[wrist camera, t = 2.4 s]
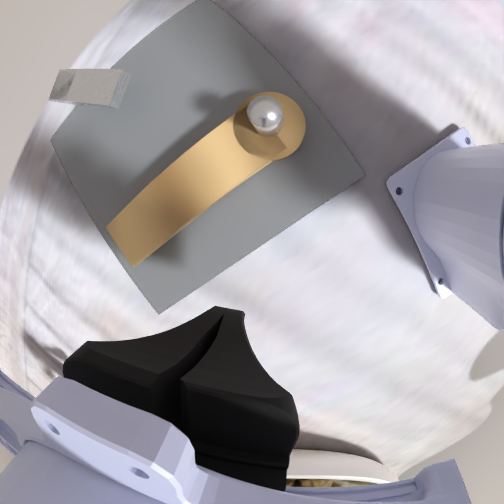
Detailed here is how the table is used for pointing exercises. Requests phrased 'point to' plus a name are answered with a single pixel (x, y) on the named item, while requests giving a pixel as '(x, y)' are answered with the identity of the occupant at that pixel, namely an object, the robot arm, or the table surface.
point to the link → (203, 178)
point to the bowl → (334, 470)
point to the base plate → (187, 135)
